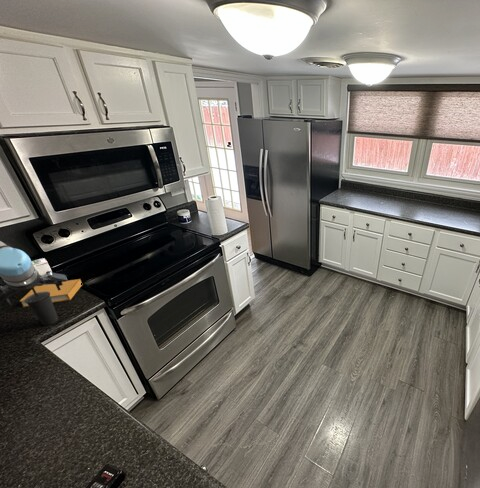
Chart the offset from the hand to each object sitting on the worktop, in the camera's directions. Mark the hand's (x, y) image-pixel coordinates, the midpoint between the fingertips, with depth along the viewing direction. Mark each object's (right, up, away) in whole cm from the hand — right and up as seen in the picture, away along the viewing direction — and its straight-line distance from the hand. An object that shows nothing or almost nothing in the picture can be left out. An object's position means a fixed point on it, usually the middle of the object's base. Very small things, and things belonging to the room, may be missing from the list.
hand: (34, 295), depth 103 cm
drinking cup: (-9, -15, +14) cm, 22 cm away
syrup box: (-35, -2, +39) cm, 52 cm away
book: (-24, -6, +31) cm, 40 cm away
